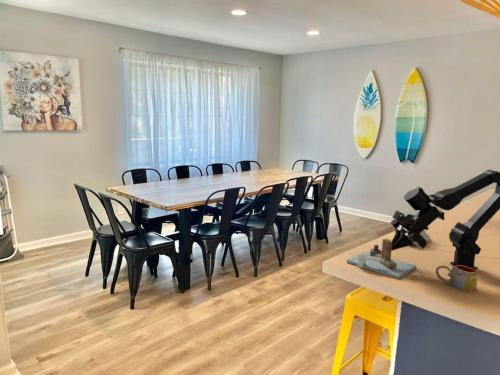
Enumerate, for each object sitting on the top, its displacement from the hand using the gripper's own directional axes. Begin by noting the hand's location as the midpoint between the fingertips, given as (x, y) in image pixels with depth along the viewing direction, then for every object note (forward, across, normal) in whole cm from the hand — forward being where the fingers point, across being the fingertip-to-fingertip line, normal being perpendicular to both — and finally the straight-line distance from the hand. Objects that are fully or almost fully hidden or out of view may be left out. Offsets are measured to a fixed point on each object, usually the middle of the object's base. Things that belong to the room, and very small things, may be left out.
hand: (390, 248), depth 135 cm
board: (+6, -1, +3) cm, 7 cm away
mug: (-6, +16, +16) cm, 23 cm away
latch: (+5, -2, +3) cm, 6 cm away
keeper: (+10, +2, 0) cm, 10 cm away
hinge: (-12, -29, +22) cm, 38 cm away
